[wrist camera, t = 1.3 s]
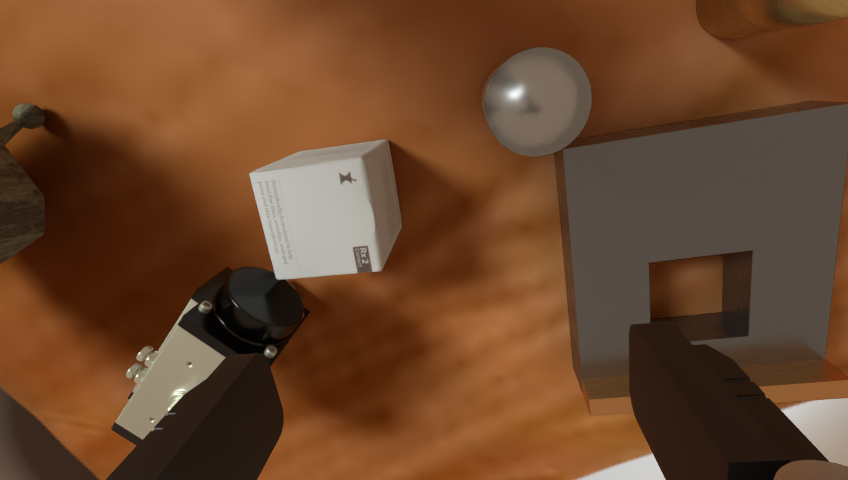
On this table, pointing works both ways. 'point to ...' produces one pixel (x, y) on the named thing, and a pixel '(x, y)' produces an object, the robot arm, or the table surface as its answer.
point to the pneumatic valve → (210, 341)
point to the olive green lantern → (19, 189)
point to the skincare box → (329, 210)
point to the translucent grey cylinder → (537, 101)
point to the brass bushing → (765, 15)
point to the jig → (709, 242)
